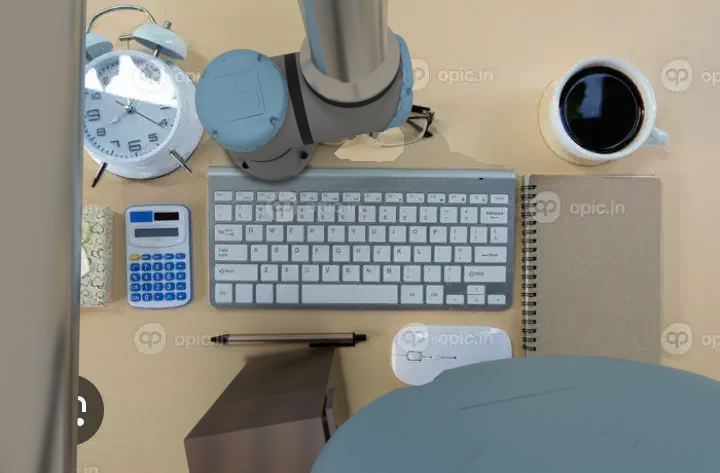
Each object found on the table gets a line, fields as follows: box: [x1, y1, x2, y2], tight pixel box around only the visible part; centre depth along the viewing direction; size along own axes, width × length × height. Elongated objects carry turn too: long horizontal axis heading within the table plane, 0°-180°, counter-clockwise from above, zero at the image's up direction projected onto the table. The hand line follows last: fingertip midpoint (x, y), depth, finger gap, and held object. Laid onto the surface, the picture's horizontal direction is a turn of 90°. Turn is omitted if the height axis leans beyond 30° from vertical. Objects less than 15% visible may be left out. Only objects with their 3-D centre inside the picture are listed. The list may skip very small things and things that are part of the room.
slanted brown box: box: [183, 344, 349, 473], centre depth 64 cm, size 15×13×30 cm
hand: (425, 434), depth 40 cm, fingers closed
